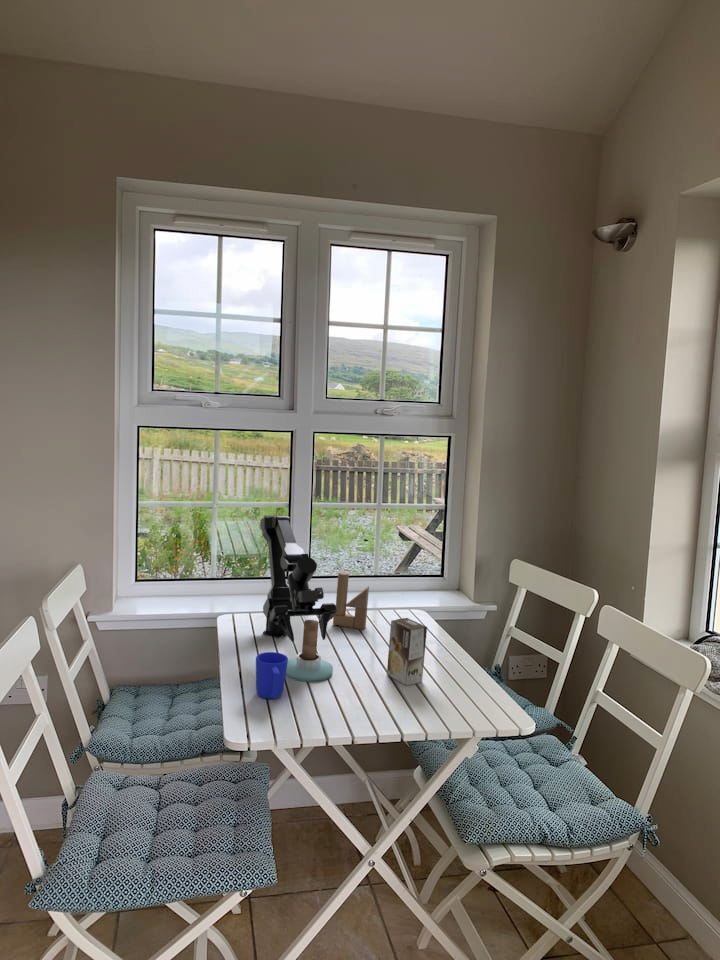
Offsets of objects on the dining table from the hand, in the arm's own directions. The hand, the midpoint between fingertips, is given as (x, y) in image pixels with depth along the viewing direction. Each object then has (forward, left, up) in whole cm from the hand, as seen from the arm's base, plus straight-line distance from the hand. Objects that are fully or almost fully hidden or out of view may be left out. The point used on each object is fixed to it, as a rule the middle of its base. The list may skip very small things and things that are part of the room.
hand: (308, 640), depth 210 cm
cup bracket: (+1, -1, -9) cm, 9 cm away
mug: (+2, -21, -9) cm, 23 cm away
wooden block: (-8, +42, -9) cm, 44 cm away
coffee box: (+25, +12, -9) cm, 29 cm away
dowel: (+1, -1, -7) cm, 7 cm away
